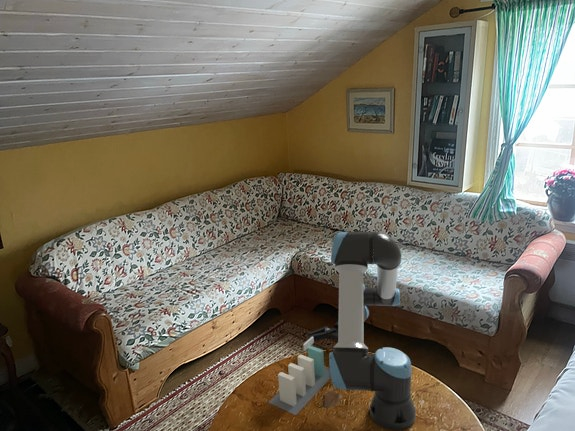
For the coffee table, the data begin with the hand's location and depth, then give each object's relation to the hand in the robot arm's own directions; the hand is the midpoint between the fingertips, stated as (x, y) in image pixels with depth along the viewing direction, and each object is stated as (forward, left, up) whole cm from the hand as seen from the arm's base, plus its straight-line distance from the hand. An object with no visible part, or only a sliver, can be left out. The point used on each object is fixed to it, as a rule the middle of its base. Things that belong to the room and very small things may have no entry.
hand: (318, 352), depth 178 cm
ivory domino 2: (0, +15, -7) cm, 17 cm away
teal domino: (0, +3, -7) cm, 8 cm away
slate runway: (0, +11, -8) cm, 14 cm away
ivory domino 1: (0, +21, -7) cm, 22 cm away
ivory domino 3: (0, +9, -7) cm, 12 cm away
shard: (-13, +12, -9) cm, 20 cm away
